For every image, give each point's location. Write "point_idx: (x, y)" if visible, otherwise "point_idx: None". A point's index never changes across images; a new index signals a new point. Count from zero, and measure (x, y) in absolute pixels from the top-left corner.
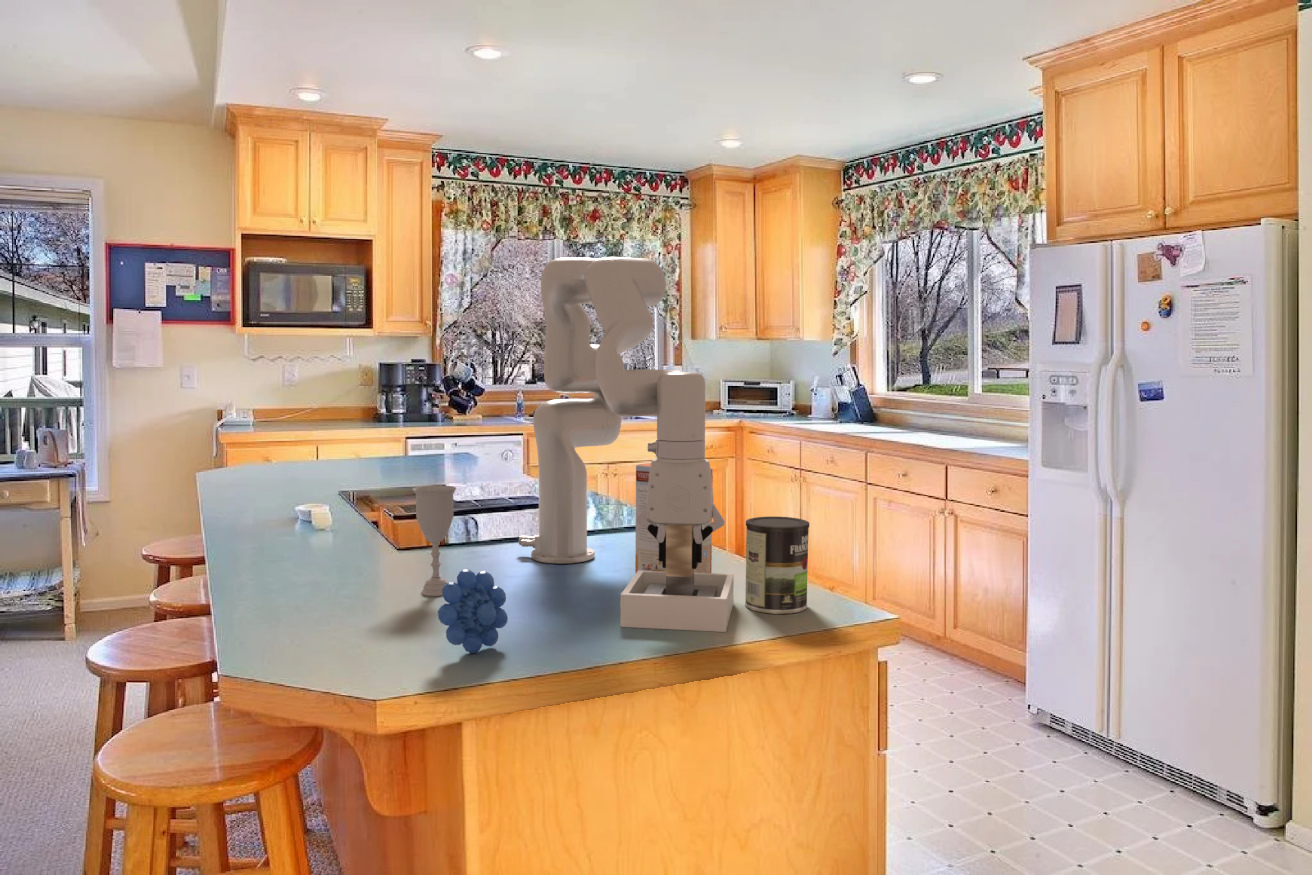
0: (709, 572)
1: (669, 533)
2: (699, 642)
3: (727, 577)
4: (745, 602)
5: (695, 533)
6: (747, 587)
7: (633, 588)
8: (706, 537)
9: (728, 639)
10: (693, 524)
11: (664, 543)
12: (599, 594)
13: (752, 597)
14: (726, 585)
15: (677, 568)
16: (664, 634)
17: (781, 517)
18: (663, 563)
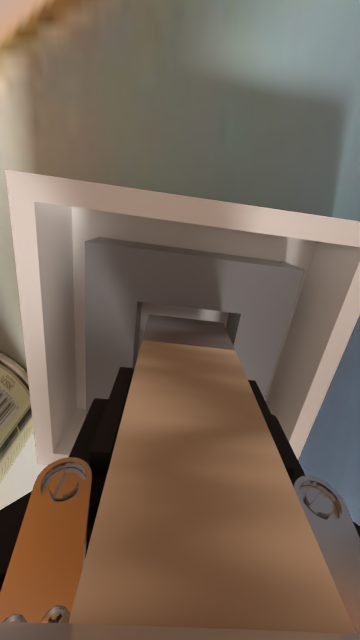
0: None
1: (283, 526)
2: (125, 65)
3: (49, 435)
4: None
5: (69, 534)
6: (9, 416)
7: (323, 338)
8: (4, 509)
9: (44, 104)
10: (25, 635)
11: (284, 464)
12: (334, 452)
13: (4, 384)
14: (37, 356)
15: (195, 362)
16: (223, 153)
17: None
18: (255, 387)
